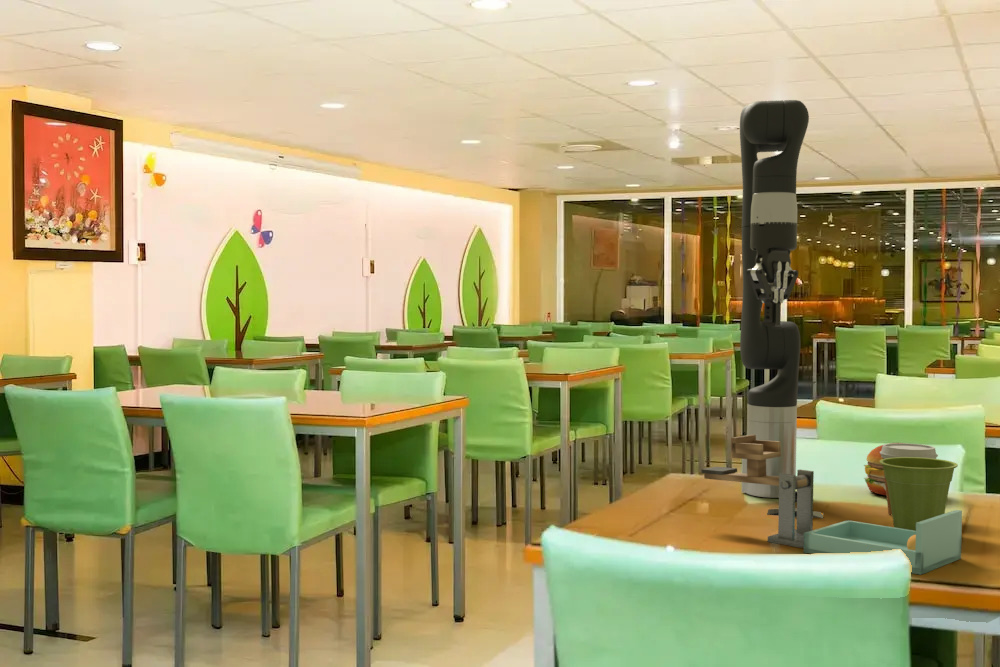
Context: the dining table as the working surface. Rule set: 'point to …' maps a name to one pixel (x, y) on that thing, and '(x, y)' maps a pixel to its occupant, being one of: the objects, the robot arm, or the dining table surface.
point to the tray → (894, 540)
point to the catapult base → (787, 510)
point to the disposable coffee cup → (905, 451)
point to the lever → (752, 463)
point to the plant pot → (917, 488)
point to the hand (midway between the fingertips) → (772, 325)
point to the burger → (875, 472)
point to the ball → (911, 542)
